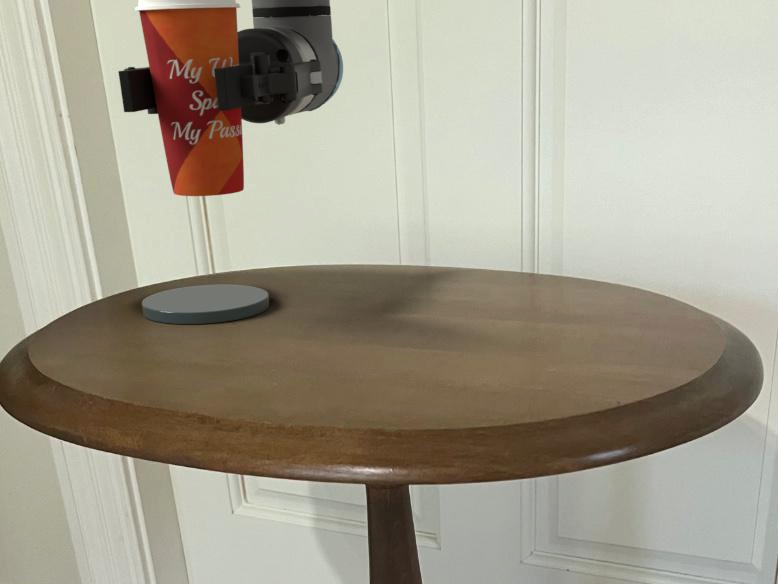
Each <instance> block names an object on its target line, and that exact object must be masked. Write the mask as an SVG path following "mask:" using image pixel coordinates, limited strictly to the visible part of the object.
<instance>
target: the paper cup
mask: <svg viewBox="0 0 778 584" xmlns="http://www.w3.org/2000/svg"><path fill="white" fill-rule="evenodd" d="M137 3H138V5H137V6H135V8H134V11H135V12H139V18H140V23H141V28H142V34H143V40H144V46H145V51H146V57H147V62H148V67H149V68H150V73H151V79H152V84H153V90H154V95H155V101H156V106H157V111H158V114H157V116H158V122H159V128H160V131H161V139H162V143H163V149H164V153H165V159H166V164H167V169H168V174H169V180H170V184H171V188H172V192H173V194H174V195H176V196H183V197H211V196H223V195H231V194H235V193H240V192H242V191H244V189H245V185H244V184H245V173H244V172H245V170H244V168H245V167H244V144H243V141H244V139H243V119H242V117H241V107H240V108H236V109H231V110H218V101H217V91H216V81H215V72H214V69H216V68H223V67H231V66H238V65H239V52H238V32H239V30H238V11H237V9H240V8H241V5H240V3H237V1H236V0H137Z"/></svg>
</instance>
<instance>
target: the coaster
mask: <svg viewBox="0 0 778 584" xmlns="http://www.w3.org/2000/svg"><path fill="white" fill-rule="evenodd" d="M269 306H270V298H269V292H268V291H267V290H265V289H263V288H261V287H257V286H252V285H246V284H245V285H244V284H233V283H232V284H229V283H226V284H225V283H223V284H222V283H219V284H218V283H217V284H216V283H215V284H200V285H190V286H182V287H176V288H170V289H166V290H163V291H159V292H156V293H153V294H151V295H148V296H147V297H145V298H143V300H142V301H141V309H142V314H143V316H144V317H145V318H146V319H148V320H150V321H153V322H157V323H162V324H170V325H206V324H209V325H210V324H219V323H225V322H232V321H238V320H243V319H248V318H251V317H254V316H257V315H259V314H261V313H264V312H265V311H266V310H268V309H269Z"/></svg>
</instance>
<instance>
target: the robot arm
mask: <svg viewBox="0 0 778 584" xmlns="http://www.w3.org/2000/svg"><path fill="white" fill-rule="evenodd" d="M251 7H252V9H251V11H252V24H253V27H252V28H245V29H241V30H238V52H239V65H238V66H231V67H223V68H216V69H214V72H215V81H216V91H217V101H218V110H231V109H236V108H240V107H241V117H242V121H245V122H247V123H252V124H266V123H271V122H274V123H275V125H279V126H280V125H284V124H285V123H286V117H288V116H292V115H295V114H300V113H304V112H312V111H315V110H317V109H320V108H321V107H322V106H323V105H324V104H326V103H327V102H329V101H330V100H331V98H332V97H333V96H334V95H335V94H336V93H337V91H338V89H339V88H340V86H341V83H342V80H343V77H344V76H343V75H344V62H343V56H342V52H341V51H340V48H339V47H338V45H337V43H336V41H335V40H334V39H333V27H332V26H333V24H332V23H333V22H332V10H331V0H251ZM117 72H118V79H119V87H120V93H121V98H122V100H121V101H122V107H123V113H136V112H141V111H146V110H147V115H158V111H157V106H156V101H155V95H154V90H153V84H152V79H151V73H150V68H149V66H147V67H146V66H145V67H135V66H128V67H127V68H126V67H125V68H124V69H123V70H118V71H117Z"/></svg>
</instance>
